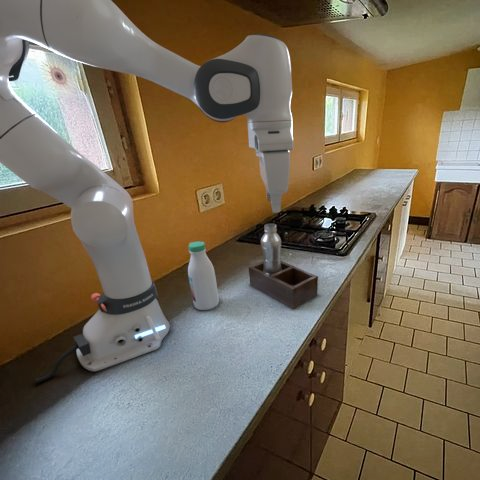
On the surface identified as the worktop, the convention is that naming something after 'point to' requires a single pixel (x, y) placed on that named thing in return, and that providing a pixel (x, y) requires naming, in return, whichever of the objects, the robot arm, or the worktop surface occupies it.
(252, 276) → the bottle rack
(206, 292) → the milk bottle
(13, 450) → the worktop surface
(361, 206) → the worktop surface
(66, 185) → the robot arm
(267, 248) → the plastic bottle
